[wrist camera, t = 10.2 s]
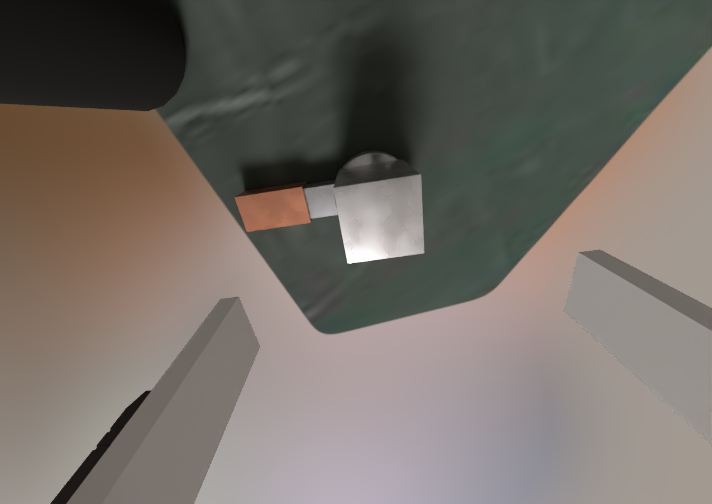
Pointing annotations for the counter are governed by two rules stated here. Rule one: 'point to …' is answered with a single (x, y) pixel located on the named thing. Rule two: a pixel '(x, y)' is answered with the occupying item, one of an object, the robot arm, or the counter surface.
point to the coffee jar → (89, 53)
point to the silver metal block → (380, 210)
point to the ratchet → (297, 199)
